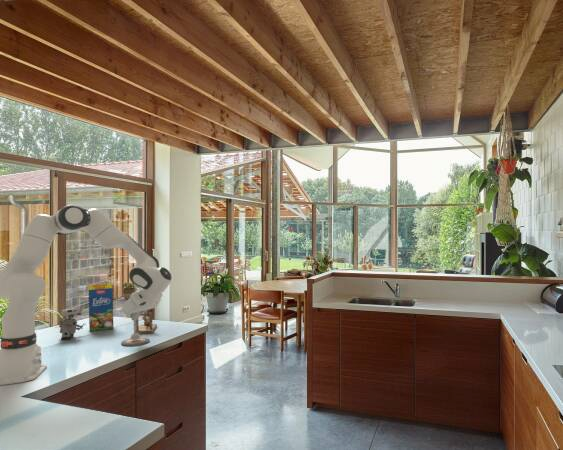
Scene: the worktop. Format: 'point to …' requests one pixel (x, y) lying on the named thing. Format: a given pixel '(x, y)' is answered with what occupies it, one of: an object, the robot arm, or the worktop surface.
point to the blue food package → (100, 307)
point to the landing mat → (135, 342)
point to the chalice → (135, 334)
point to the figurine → (69, 322)
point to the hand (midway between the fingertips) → (133, 315)
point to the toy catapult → (146, 325)
